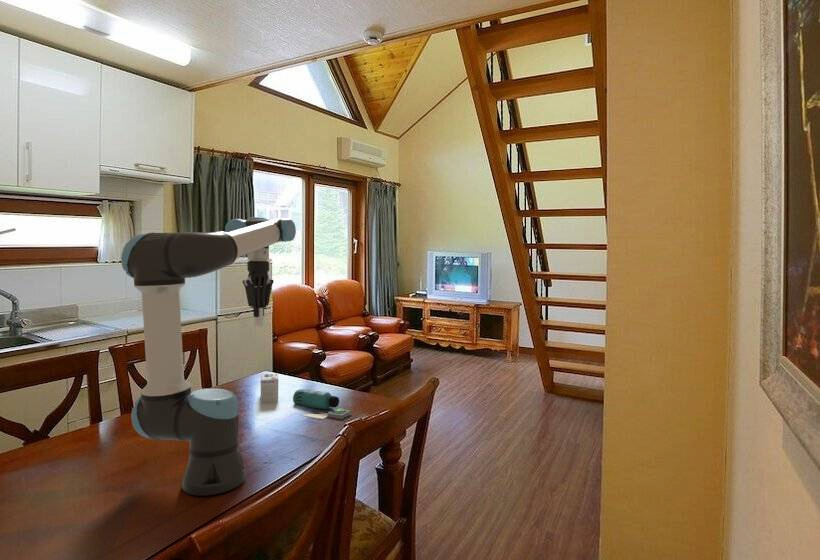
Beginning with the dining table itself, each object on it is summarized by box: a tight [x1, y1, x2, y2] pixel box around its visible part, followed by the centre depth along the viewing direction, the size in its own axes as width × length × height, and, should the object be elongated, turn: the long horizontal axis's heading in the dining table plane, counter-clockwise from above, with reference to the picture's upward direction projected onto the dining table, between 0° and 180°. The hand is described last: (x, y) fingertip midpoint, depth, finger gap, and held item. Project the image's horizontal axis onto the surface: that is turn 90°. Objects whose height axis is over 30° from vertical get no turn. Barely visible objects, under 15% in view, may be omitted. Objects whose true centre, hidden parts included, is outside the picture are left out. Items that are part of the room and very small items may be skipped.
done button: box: [333, 408, 345, 414], centre depth 164 cm, size 3×3×2 cm
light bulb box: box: [260, 373, 279, 404], centre depth 180 cm, size 11×7×11 cm, turn 17°
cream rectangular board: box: [302, 413, 328, 420], centre depth 170 cm, size 16×12×1 cm
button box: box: [327, 409, 352, 420], centre depth 164 cm, size 6×6×2 cm
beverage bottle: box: [292, 388, 340, 411], centre depth 173 cm, size 6×7×20 cm
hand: (258, 325), depth 165 cm, fingers closed
